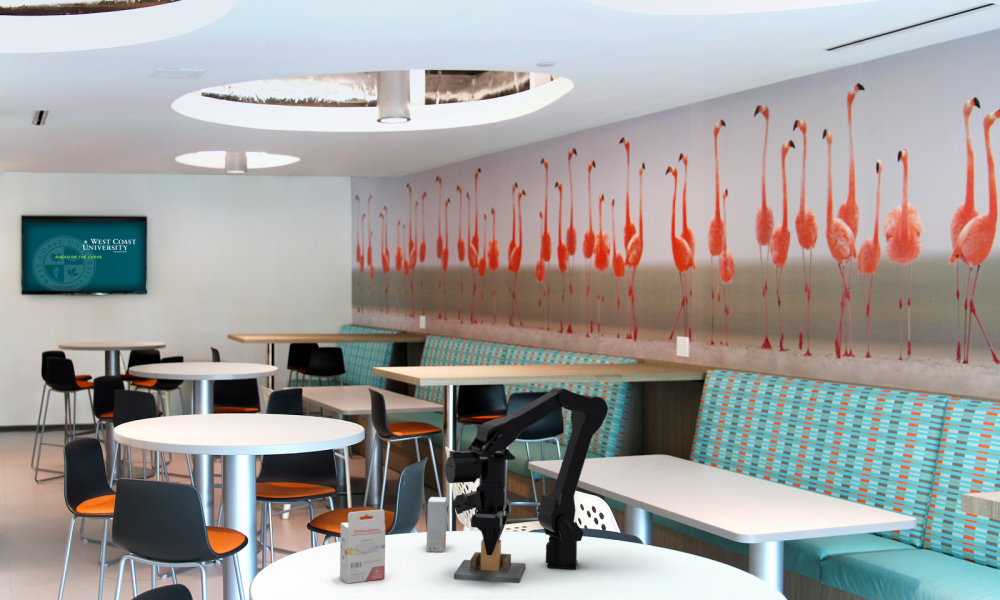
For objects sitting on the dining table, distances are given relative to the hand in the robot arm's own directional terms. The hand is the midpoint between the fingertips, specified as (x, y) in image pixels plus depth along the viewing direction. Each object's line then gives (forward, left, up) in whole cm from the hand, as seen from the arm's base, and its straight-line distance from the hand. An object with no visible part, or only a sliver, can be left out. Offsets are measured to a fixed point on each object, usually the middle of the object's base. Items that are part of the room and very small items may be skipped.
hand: (491, 552), depth 196 cm
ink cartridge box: (+26, +10, -5) cm, 28 cm away
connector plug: (0, 0, -4) cm, 4 cm away
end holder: (0, 0, -4) cm, 4 cm away
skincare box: (+16, -18, -5) cm, 25 cm away
